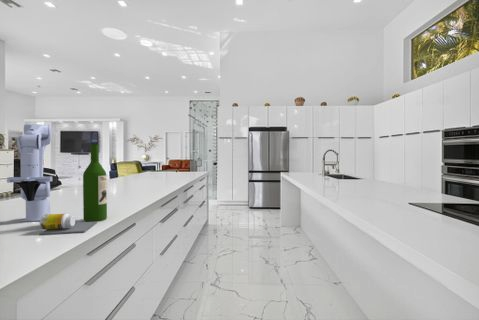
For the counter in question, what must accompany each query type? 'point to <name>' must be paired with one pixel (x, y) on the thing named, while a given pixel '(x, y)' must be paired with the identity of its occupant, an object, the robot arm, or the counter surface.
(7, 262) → the counter surface
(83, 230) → the mat
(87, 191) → the wine bottle
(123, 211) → the counter surface
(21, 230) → the counter surface
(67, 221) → the supplement bottle
